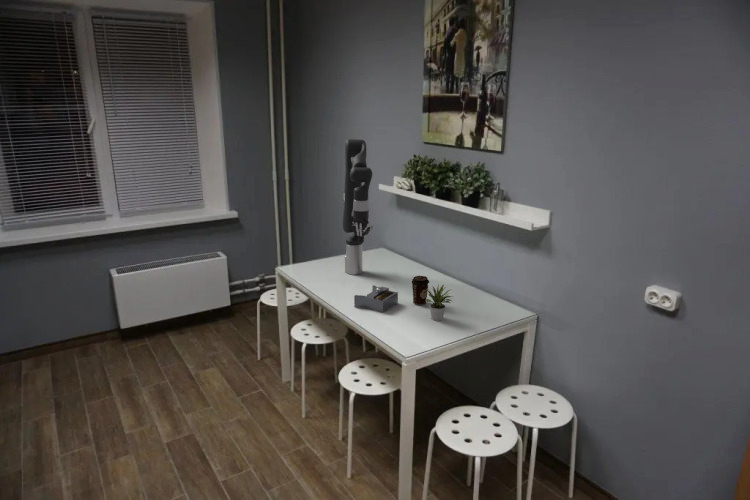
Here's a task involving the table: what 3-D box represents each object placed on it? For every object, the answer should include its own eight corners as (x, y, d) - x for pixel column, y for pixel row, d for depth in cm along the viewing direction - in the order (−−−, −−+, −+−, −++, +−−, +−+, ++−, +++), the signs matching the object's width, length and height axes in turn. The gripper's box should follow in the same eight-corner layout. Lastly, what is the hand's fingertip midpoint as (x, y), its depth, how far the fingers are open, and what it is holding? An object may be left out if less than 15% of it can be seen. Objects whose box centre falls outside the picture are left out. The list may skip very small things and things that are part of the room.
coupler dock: (353, 306, 238) (353, 289, 236) (373, 295, 252) (373, 279, 249) (380, 314, 230) (380, 296, 227) (399, 301, 244) (400, 285, 241)
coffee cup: (430, 301, 245) (431, 276, 241) (426, 307, 237) (427, 281, 234) (413, 298, 248) (414, 274, 244) (409, 305, 240) (409, 279, 236)
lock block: (365, 305, 240) (365, 297, 239) (374, 299, 247) (374, 291, 246) (379, 309, 236) (379, 301, 235) (388, 303, 243) (388, 295, 242)
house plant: (429, 328, 215) (430, 293, 211) (414, 316, 228) (415, 282, 223) (457, 322, 221) (459, 288, 216) (441, 311, 233) (442, 278, 228)
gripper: (345, 208, 242) (345, 242, 247) (367, 212, 234) (367, 247, 240) (354, 205, 247) (354, 238, 253) (376, 209, 240) (376, 243, 246)
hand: (360, 242), depth 246 cm, fingers closed
